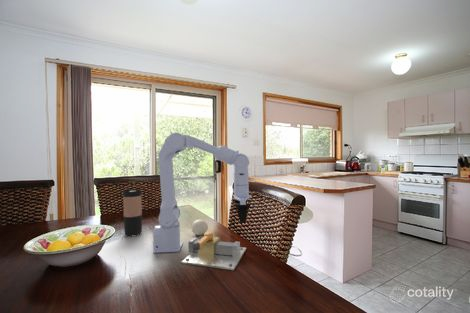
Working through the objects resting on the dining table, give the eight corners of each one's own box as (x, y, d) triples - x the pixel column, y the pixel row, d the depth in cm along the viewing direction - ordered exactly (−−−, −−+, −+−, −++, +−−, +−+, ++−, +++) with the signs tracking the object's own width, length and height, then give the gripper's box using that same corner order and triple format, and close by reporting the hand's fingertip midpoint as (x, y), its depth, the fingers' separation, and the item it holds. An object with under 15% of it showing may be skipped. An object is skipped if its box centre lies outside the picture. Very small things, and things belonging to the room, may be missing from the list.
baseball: (205, 237, 98) (205, 222, 98) (189, 237, 99) (189, 221, 99) (210, 232, 104) (209, 218, 104) (195, 231, 106) (194, 217, 106)
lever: (206, 236, 84) (206, 231, 84) (214, 237, 83) (214, 232, 83) (190, 250, 72) (190, 244, 72) (199, 251, 71) (199, 245, 71)
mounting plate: (181, 263, 75) (181, 260, 75) (201, 244, 90) (201, 242, 90) (233, 270, 70) (233, 267, 70) (246, 249, 85) (246, 246, 85)
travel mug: (120, 235, 103) (119, 191, 103) (133, 230, 110) (132, 188, 110) (133, 237, 100) (132, 192, 100) (145, 232, 107) (145, 189, 107)
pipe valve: (187, 253, 81) (187, 240, 81) (194, 247, 87) (194, 235, 87) (236, 258, 76) (236, 245, 76) (240, 251, 82) (240, 239, 82)
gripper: (253, 186, 82) (254, 224, 82) (249, 182, 96) (250, 214, 96) (234, 187, 81) (234, 225, 81) (232, 182, 96) (233, 214, 96)
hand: (241, 219), depth 89 cm, fingers open, 7 cm apart
